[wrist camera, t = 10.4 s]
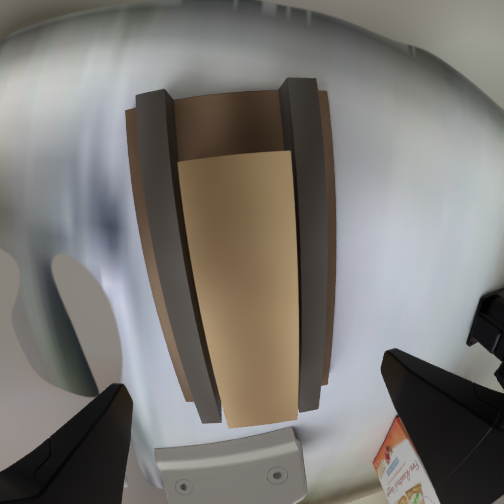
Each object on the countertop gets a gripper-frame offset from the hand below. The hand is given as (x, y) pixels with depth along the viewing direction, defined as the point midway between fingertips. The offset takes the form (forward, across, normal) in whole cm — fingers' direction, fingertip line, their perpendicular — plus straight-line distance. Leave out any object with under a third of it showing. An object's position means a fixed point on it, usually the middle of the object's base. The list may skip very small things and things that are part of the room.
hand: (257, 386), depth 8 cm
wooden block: (+9, 0, 0) cm, 9 cm away
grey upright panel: (+11, +4, +23) cm, 26 cm away
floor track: (+10, 0, 0) cm, 10 cm away
